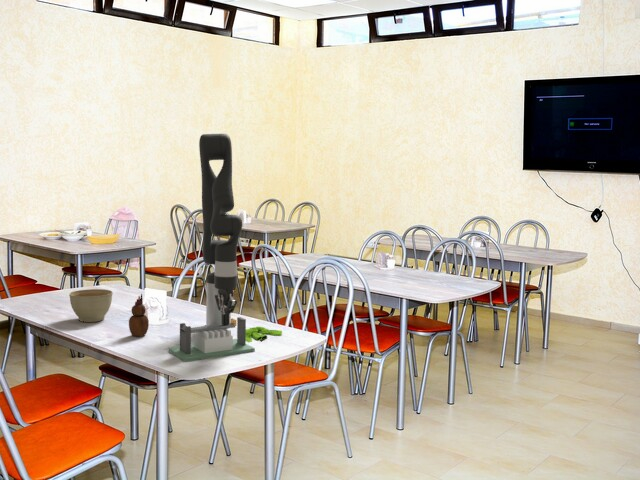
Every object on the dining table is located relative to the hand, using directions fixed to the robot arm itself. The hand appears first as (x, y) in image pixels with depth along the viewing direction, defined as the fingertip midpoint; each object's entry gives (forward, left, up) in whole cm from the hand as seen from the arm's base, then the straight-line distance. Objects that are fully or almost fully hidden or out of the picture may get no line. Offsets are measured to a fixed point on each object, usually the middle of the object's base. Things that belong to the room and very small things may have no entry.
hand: (225, 324), depth 239 cm
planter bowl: (-63, -27, -9) cm, 69 cm away
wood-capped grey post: (0, -6, -1) cm, 6 cm away
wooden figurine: (-31, -19, -9) cm, 38 cm away
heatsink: (0, -5, -9) cm, 10 cm away
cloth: (-10, +20, -9) cm, 24 cm away
